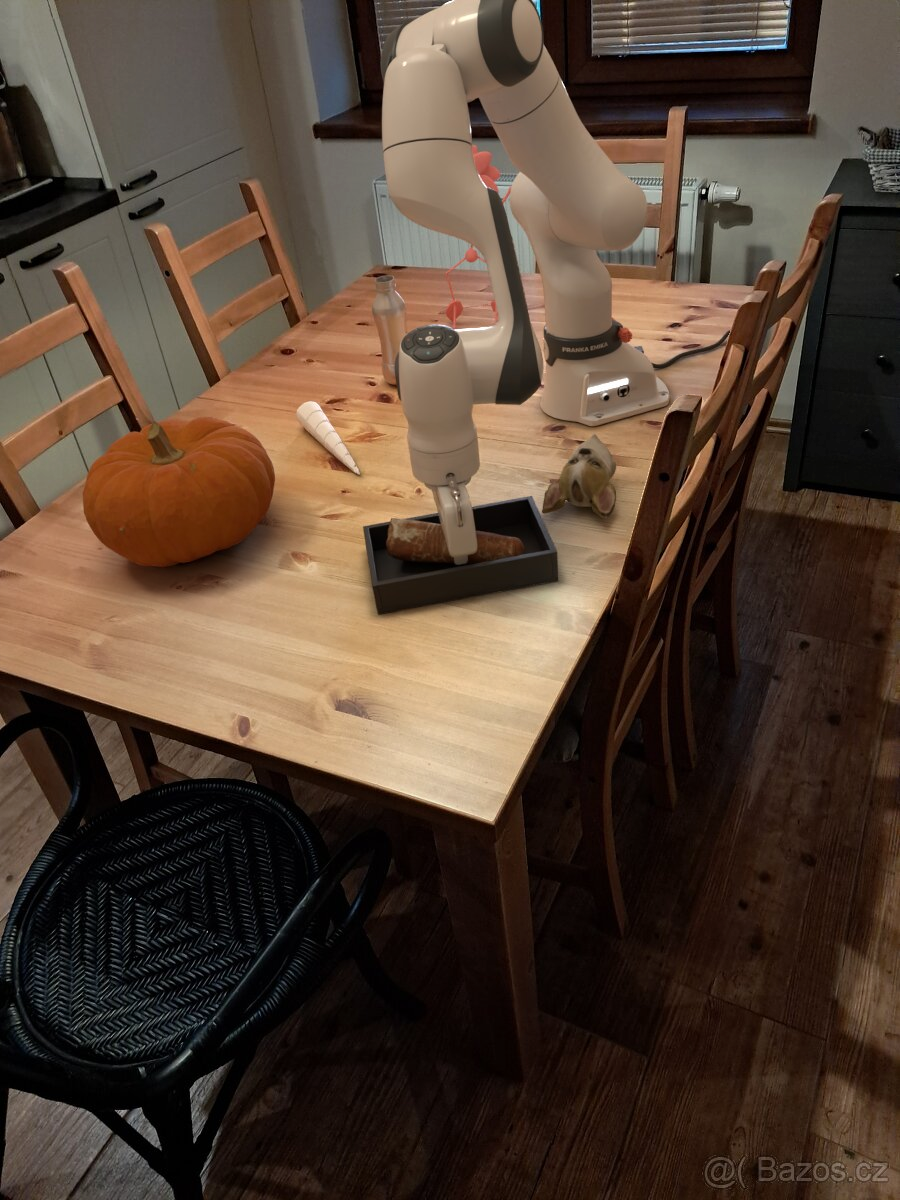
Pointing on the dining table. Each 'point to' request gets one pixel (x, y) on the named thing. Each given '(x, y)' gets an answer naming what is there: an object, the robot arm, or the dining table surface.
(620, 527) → the dining table surface
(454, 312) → the figurine
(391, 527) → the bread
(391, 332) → the plastic bottle
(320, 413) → the unicorn horn
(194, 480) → the pumpkin
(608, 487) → the ceramic sculpture
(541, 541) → the tray
